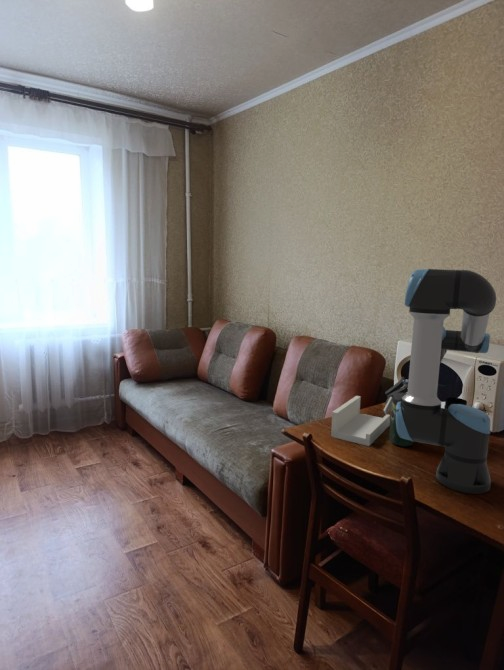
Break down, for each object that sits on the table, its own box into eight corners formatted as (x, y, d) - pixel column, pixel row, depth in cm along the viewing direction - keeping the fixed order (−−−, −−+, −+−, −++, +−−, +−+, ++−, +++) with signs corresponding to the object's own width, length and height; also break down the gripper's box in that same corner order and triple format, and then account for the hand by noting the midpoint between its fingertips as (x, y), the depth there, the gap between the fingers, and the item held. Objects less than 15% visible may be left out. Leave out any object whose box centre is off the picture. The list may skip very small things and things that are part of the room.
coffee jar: (415, 447, 158) (419, 399, 155) (393, 446, 159) (396, 398, 156) (407, 437, 168) (411, 391, 165) (387, 436, 168) (390, 390, 165)
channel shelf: (369, 446, 159) (370, 420, 157) (330, 436, 167) (332, 411, 165) (389, 425, 180) (391, 402, 179) (354, 417, 188) (356, 395, 187)
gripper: (459, 384, 162) (436, 432, 155) (398, 371, 180) (375, 413, 173) (454, 373, 158) (430, 421, 150) (392, 360, 176) (369, 403, 169)
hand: (401, 417), depth 162 cm, fingers open, 13 cm apart
